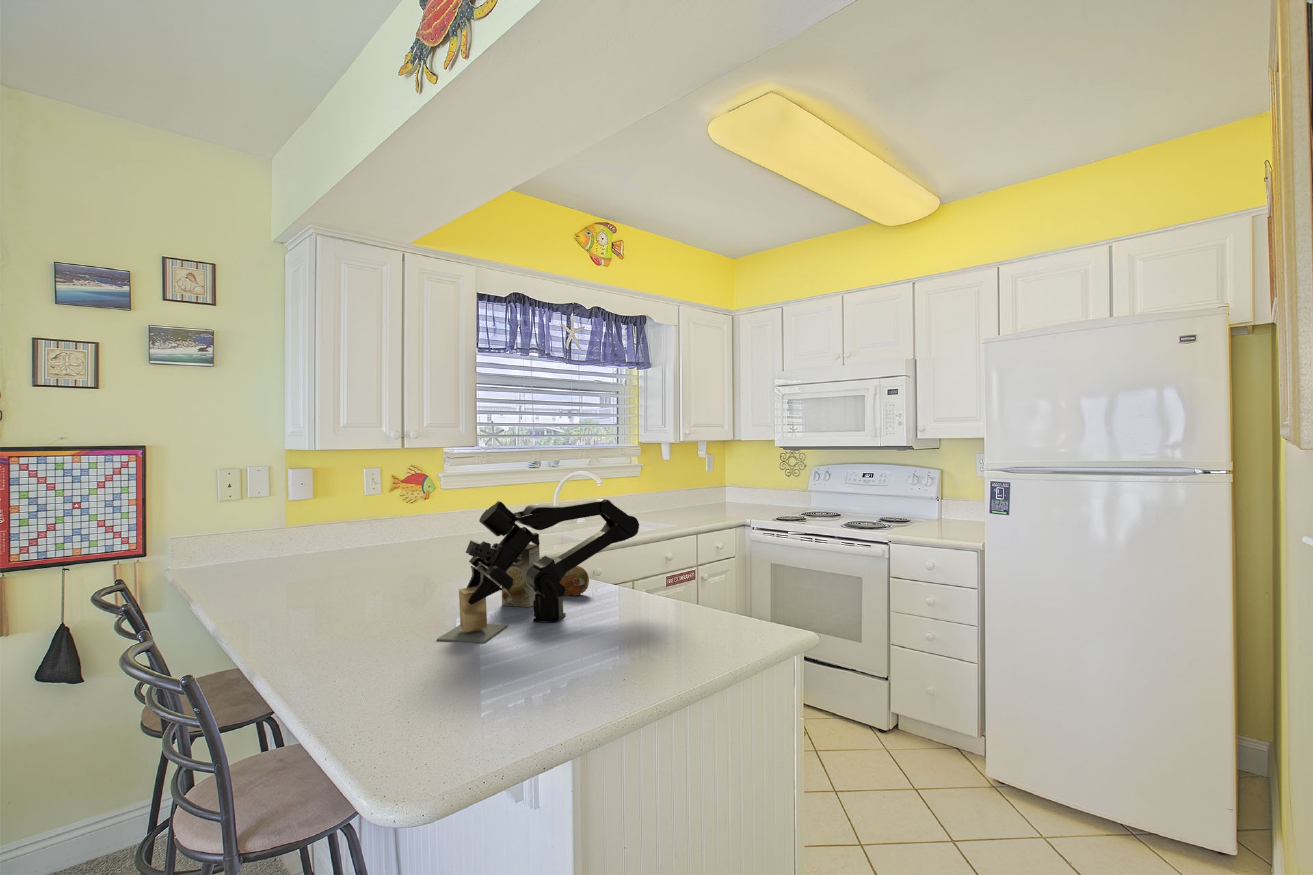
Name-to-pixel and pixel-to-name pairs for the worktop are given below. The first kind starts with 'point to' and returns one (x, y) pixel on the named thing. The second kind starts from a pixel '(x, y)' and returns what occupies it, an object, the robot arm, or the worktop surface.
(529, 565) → the coffee box
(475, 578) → the robot arm
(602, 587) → the worktop surface
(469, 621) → the oak block
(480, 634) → the slate mat
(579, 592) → the tin
